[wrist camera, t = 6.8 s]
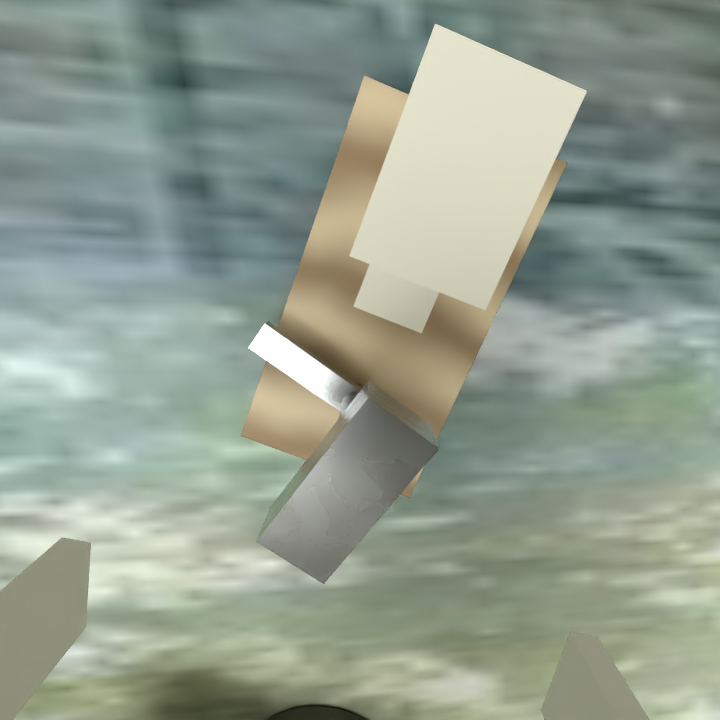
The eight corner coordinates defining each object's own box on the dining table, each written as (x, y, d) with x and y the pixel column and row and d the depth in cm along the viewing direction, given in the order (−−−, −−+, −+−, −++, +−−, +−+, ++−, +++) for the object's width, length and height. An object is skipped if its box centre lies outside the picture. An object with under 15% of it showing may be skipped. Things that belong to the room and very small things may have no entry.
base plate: (407, 484, 34) (409, 497, 32) (248, 425, 33) (240, 435, 31) (553, 169, 28) (567, 162, 26) (364, 89, 27) (364, 75, 25)
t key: (408, 366, 29) (439, 448, 16) (343, 448, 31) (323, 584, 18) (296, 284, 28) (231, 301, 15) (234, 374, 29) (128, 460, 16)
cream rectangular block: (432, 335, 29) (459, 366, 20) (340, 299, 28) (327, 315, 20) (514, 149, 26) (587, 90, 17) (413, 106, 26) (435, 23, 17)
